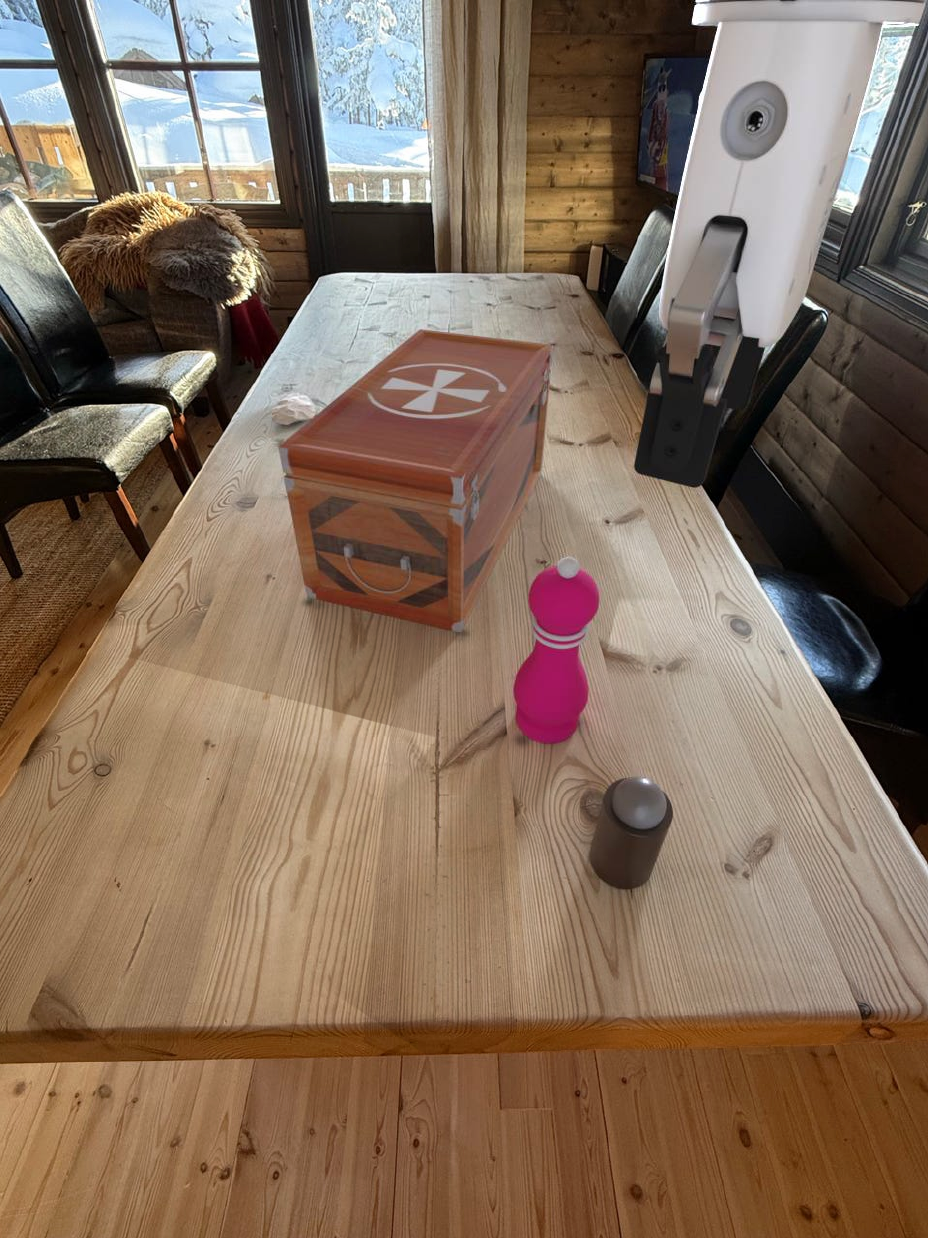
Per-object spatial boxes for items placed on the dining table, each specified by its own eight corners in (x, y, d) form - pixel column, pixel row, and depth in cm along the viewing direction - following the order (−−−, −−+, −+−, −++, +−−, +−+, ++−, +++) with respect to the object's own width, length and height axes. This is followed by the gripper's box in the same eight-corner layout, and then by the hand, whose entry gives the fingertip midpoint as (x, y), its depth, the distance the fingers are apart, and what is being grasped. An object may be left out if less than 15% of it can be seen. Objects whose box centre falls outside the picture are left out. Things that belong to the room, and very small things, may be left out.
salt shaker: (660, 849, 56) (688, 776, 49) (641, 901, 52) (668, 831, 46) (602, 822, 58) (621, 749, 51) (580, 871, 54) (598, 799, 48)
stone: (269, 429, 116) (267, 418, 115) (278, 397, 127) (276, 387, 125) (314, 427, 117) (312, 416, 116) (319, 396, 127) (318, 386, 126)
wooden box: (544, 472, 105) (556, 344, 92) (462, 635, 76) (464, 480, 63) (424, 453, 110) (420, 328, 97) (304, 598, 81) (275, 447, 68)
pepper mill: (513, 689, 70) (527, 530, 56) (582, 697, 69) (612, 537, 56) (507, 743, 64) (521, 581, 51) (582, 752, 63) (615, 590, 50)
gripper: (935, -68, 15) (732, 541, 27) (940, -16, 27) (797, 394, 38) (627, -53, 18) (561, 493, 29) (751, -12, 30) (669, 370, 41)
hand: (694, 437), depth 34 cm, fingers open, 9 cm apart
